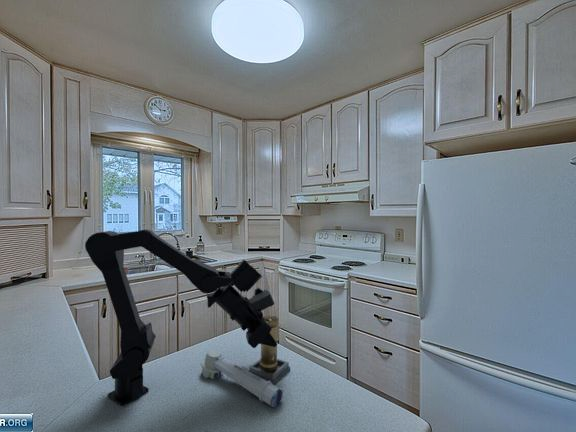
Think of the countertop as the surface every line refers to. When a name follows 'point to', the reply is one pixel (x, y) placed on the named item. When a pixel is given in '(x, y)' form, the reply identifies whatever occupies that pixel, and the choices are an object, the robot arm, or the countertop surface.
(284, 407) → the countertop surface
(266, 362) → the brass domed cylinder
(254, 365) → the shallow square tray
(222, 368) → the white long piece
